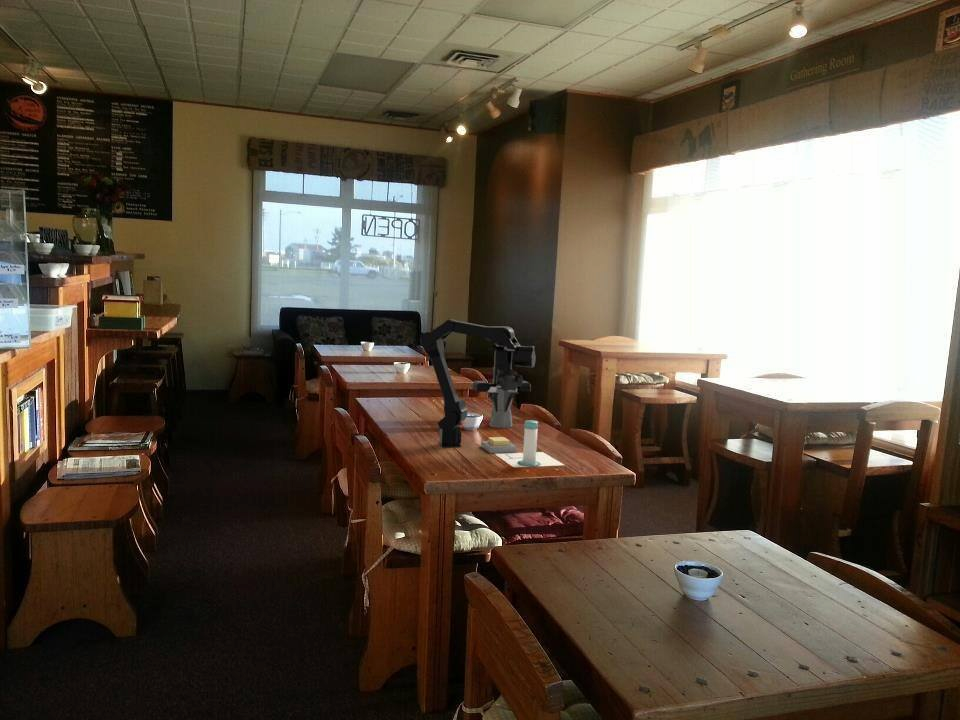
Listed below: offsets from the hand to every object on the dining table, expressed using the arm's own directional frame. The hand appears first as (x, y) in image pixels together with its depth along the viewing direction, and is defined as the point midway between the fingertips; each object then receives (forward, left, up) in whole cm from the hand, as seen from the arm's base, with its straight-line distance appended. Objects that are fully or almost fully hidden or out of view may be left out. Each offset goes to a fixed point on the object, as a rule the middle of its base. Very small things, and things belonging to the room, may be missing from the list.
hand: (500, 412), depth 251 cm
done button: (0, 0, -11) cm, 11 cm away
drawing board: (+5, -14, -13) cm, 20 cm away
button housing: (0, 0, -13) cm, 13 cm away
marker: (+3, -19, -12) cm, 23 cm away
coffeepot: (+16, +39, -13) cm, 44 cm away
